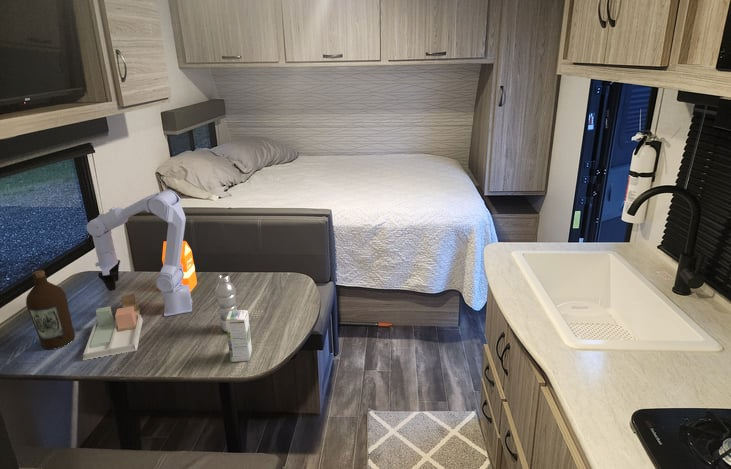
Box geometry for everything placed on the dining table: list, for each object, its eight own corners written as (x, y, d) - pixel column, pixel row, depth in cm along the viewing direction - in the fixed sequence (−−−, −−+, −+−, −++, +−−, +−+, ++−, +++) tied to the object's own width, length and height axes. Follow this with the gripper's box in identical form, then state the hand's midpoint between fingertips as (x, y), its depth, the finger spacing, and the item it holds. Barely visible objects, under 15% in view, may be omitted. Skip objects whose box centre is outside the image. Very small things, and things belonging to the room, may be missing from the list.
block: (136, 318, 164) (133, 306, 162) (134, 326, 159) (131, 313, 157) (120, 321, 162) (117, 308, 160) (118, 329, 158) (115, 315, 156)
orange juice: (190, 292, 185) (182, 244, 178) (168, 292, 186) (158, 245, 178) (197, 283, 193) (189, 237, 186) (175, 283, 193) (167, 237, 186)
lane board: (95, 327, 162) (93, 322, 161) (142, 319, 167) (141, 314, 166) (83, 360, 144) (81, 354, 144) (136, 350, 149) (135, 344, 148)
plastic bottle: (245, 325, 161) (238, 272, 154) (233, 336, 155) (225, 281, 148) (228, 322, 163) (221, 270, 156) (217, 333, 157) (208, 278, 150)
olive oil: (46, 335, 158) (24, 267, 150) (81, 330, 161) (62, 263, 152) (34, 353, 149) (11, 282, 140) (72, 347, 151) (51, 277, 143)
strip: (98, 325, 162) (94, 309, 160) (116, 322, 164) (112, 306, 161) (90, 347, 149) (86, 330, 147) (110, 344, 151) (106, 326, 149)
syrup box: (233, 351, 147) (227, 310, 142) (253, 350, 148) (247, 309, 142) (230, 362, 142) (224, 320, 137) (250, 361, 142) (244, 319, 137)
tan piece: (123, 311, 170) (119, 295, 168) (140, 309, 172) (136, 293, 170) (117, 331, 158) (113, 314, 156) (136, 328, 160) (132, 311, 157)
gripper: (96, 244, 170) (104, 278, 175) (88, 260, 157) (97, 296, 162) (117, 242, 172) (125, 275, 177) (112, 256, 160) (120, 292, 164)
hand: (113, 285), depth 170 cm, fingers open, 7 cm apart
